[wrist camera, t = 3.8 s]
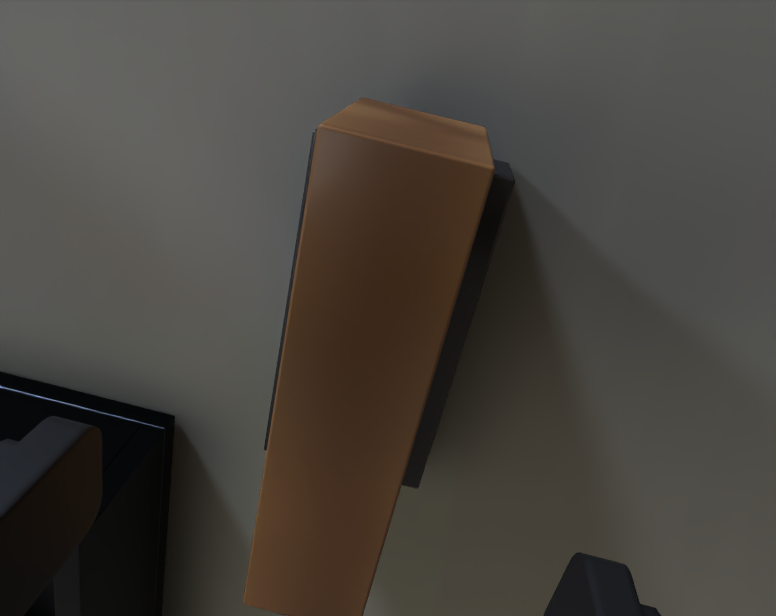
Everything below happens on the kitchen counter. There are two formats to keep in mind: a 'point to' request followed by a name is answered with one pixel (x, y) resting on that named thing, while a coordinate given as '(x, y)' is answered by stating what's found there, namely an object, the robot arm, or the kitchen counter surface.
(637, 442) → the kitchen counter surface
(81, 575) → the black open box
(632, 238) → the kitchen counter surface
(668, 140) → the kitchen counter surface
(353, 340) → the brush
